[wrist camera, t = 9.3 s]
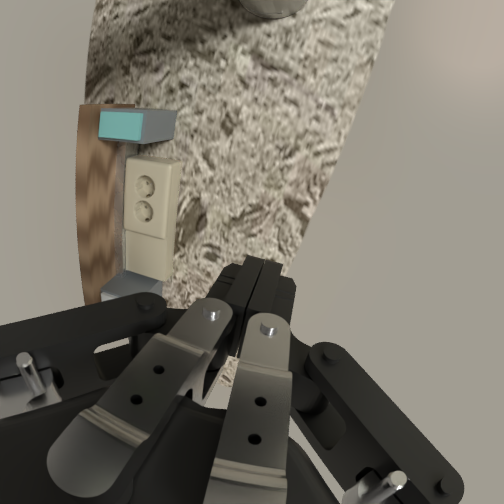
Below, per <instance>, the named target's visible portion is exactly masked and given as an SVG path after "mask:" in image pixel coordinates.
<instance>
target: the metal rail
mask: <svg viewBox="0 0 504 504" xmlns="http://www.w3.org/2000/svg"><path fill="white" fill-rule="evenodd" d="M138 151H139V143H130V142H121V141H118V143H117V157H116V174H115V203H114V240H115V269H116V275H117V276H120V277H125V276H126V275H127V274H128V273H129V272H130V271H129V270H126V230H125V229H124V228H123V217H124V186H125V168H126V159H127V158H129V157H133V156H137V155H138Z"/></svg>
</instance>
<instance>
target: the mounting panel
mask: <svg viewBox="0 0 504 504" xmlns="http://www.w3.org/2000/svg"><path fill="white" fill-rule="evenodd" d="M101 108H135V104H88V105H80V108H79V119H78V131H77V149H76V218H77V219H76V221H77V238H78V251H79V261H80V271H81V278H82V287H83V294H84V301H85V306H86V305H90V304H94V303H98V302H102V299H101V290H100V288H101V287H103V286H104V285H105V284H106V283H107V282H108V281H110V280H111V279H112V278H113V277H114V276H115V275H116V269H115V240H114V203H115V174H116V157H117V143H118V141H111V140H100V139H98V135H99V123H100V113H101Z"/></svg>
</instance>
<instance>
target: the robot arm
mask: <svg viewBox="0 0 504 504" xmlns="http://www.w3.org/2000/svg"><path fill="white" fill-rule="evenodd" d="M239 1H240V2H241V4H242V5H243V6H244V7H245V8H246V9H247V10H248V11H249V12H251V13H252V14H254V15H257V16H259V17H263V18H273V19H276V18H283V17H286V16H290V15H292V14H294V13H296V12H297V11H299V10H300V9H301V8H302V7H303V6H304V5H305V4H306V2H307V0H239ZM264 262H265V264H264ZM282 266H283V264H281V263H277V262H273V261H269V260H266V261H265V259H261V258H257V257H253V256H250V255H247V257H246V259H245V261H244V263H243V265H238V264H234V263H232V264H230V265H228V266H226V267H224V268H223V270H222V272H221V273H220V276H218V278H217V280H216V281H215V283H214V284H213V286H212V288H211V289H210V291H209V293H208V294H207V296H206V297H205V298H202V299H198V300H196V301H195V302H194V303H193V304H192V305H191V306H190V307H189V308H188V309H174V308H167V304H166V301H165V299H164V298H163V297H161V296H160V295H158V294H155V293H152V292H139V293H135V294H131V295H127V296H123V297H119V298H115V299H110V300H106V301H102V302H98V303H94V304H90V305H86V306H82V307H78V308H74V309H69V310H66V311H61V312H57V313H53V314H48V315H45V316H40V317H36V318H32V319H27V320H23V321H19V322H15V323H10V324H6V325H1V326H0V504H340V503H339V502H338V500H337V499H336V497H335V496H334V494H333V493H332V492H331V490H330V489H329V487H328V486H327V484H326V483H325V481H324V480H323V478H322V476H321V475H320V473H319V472H318V470H317V469H316V467H315V466H314V464H313V463H312V461H311V460H310V458H309V457H308V455H307V454H306V452H305V451H304V450H303V449H302V448H301V446H300V445H299V444H298V443H296V442H295V441H294V440H293V439H292V438H290V437H289V436H288V435H289V421H290V416H291V417H292V419H293V420H294V421H295V423H296V424H297V426H298V427H299V429H300V430H301V432H302V433H303V435H304V436H305V437H306V439H307V440H308V442H309V443H310V445H311V446H312V447H313V449H314V450H315V452H316V453H317V454H318V456H319V457H320V459H321V460H322V461H323V463H324V464H325V465H326V467H327V468H328V470H329V471H330V472H331V474H332V475H333V476H334V478H335V479H336V480H337V482H338V483H339V485H340V486H341V487H342V489H343V490H344V491H345V494H344V495H343V498H342V504H458V503H459V502H460V501H461V499H462V497H463V494H464V483H463V480H462V478H461V476H460V475H459V473H458V472H457V471H456V470H455V469H454V468H453V467H452V466H451V464H450V463H449V462H448V461H447V460H446V459H445V458H444V457H443V456H442V455H441V453H440V452H439V451H438V450H436V448H435V447H434V446H433V445H432V444H431V443H430V441H429V440H428V439H427V438H426V437H425V436H424V435H423V434H422V433H421V432H420V431H419V429H418V428H417V427H416V426H415V425H414V424H413V423H412V422H411V421H410V420H409V418H407V416H406V415H405V414H404V413H403V412H402V411H401V410H400V409H399V408H398V407H397V405H396V404H395V403H394V402H393V401H392V400H391V399H390V398H389V397H388V396H387V395H386V393H385V392H384V391H383V390H382V389H381V388H380V387H379V386H378V385H377V384H376V382H375V381H374V380H373V379H372V378H371V377H370V376H369V375H368V374H367V373H366V372H365V370H364V369H363V368H362V367H361V366H360V365H359V364H358V363H357V362H356V361H355V360H354V359H353V358H352V356H351V355H350V354H349V353H348V352H347V351H346V350H345V349H344V348H342V347H341V346H339V345H337V344H334V343H330V342H319V343H317V344H315V345H313V346H312V347H310V346H308V345H306V344H304V343H302V342H301V341H299V340H298V339H297V338H296V337H295V336H294V335H293V334H292V332H291V330H290V320H291V315H292V309H293V303H294V298H295V292H296V285H295V283H294V281H293V279H292V278H288V277H284V276H280V274H281V270H282ZM128 337H129V344H126V345H122V346H119V347H116V348H112V349H109V350H105V351H102V352H99V353H94V351H95V349H96V348H97V347H98V346H101V345H104V344H107V343H111V342H114V341H118V340H121V339H124V338H128ZM238 348H239V349H238ZM237 350H238V354H237V358H240V359H239V362H238V366H237V370H236V375H235V379H234V383H233V387H232V391H231V395H230V399H229V403H228V407H227V410H226V409H215V408H206V407H204V405H205V403H206V401H207V399H208V397H209V395H210V393H211V392H212V390H213V388H214V386H215V384H216V382H217V380H218V378H219V376H220V374H221V373H222V370H223V365H224V364H225V362H226V360H227V357H228V355H229V356H233V357H235V356H236V353H237Z"/></svg>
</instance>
